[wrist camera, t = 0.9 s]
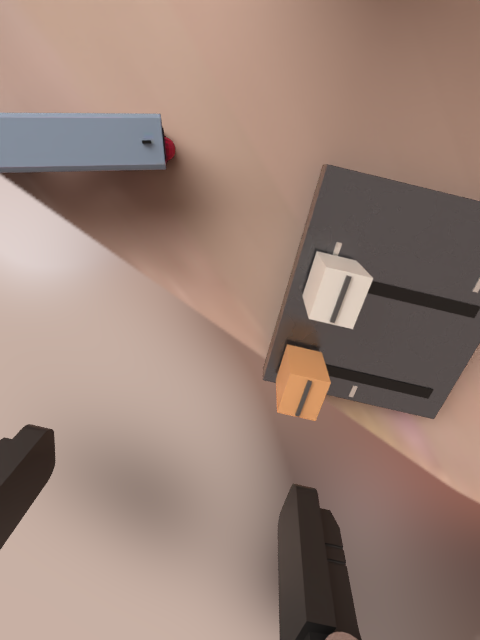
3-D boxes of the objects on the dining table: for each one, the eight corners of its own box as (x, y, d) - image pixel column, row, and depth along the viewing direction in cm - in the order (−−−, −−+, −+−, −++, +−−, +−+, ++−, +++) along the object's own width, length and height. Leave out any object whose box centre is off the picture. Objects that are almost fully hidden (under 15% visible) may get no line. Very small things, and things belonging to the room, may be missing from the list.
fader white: (316, 251, 24) (326, 267, 20) (356, 260, 25) (374, 279, 20) (302, 295, 26) (309, 320, 22) (339, 304, 26) (353, 330, 22)
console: (323, 164, 24) (327, 164, 22) (532, 215, 25) (554, 219, 23) (263, 367, 32) (262, 380, 30) (424, 405, 32) (434, 419, 30)
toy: (176, 170, 28) (179, 168, 19) (-29, 174, 26) (-137, 174, 17) (172, 133, 27) (174, 112, 18) (-42, 133, 25) (-166, 109, 16)
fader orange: (287, 344, 28) (290, 375, 24) (321, 352, 28) (331, 384, 24) (275, 379, 29) (277, 414, 25) (308, 386, 29) (315, 422, 25)
